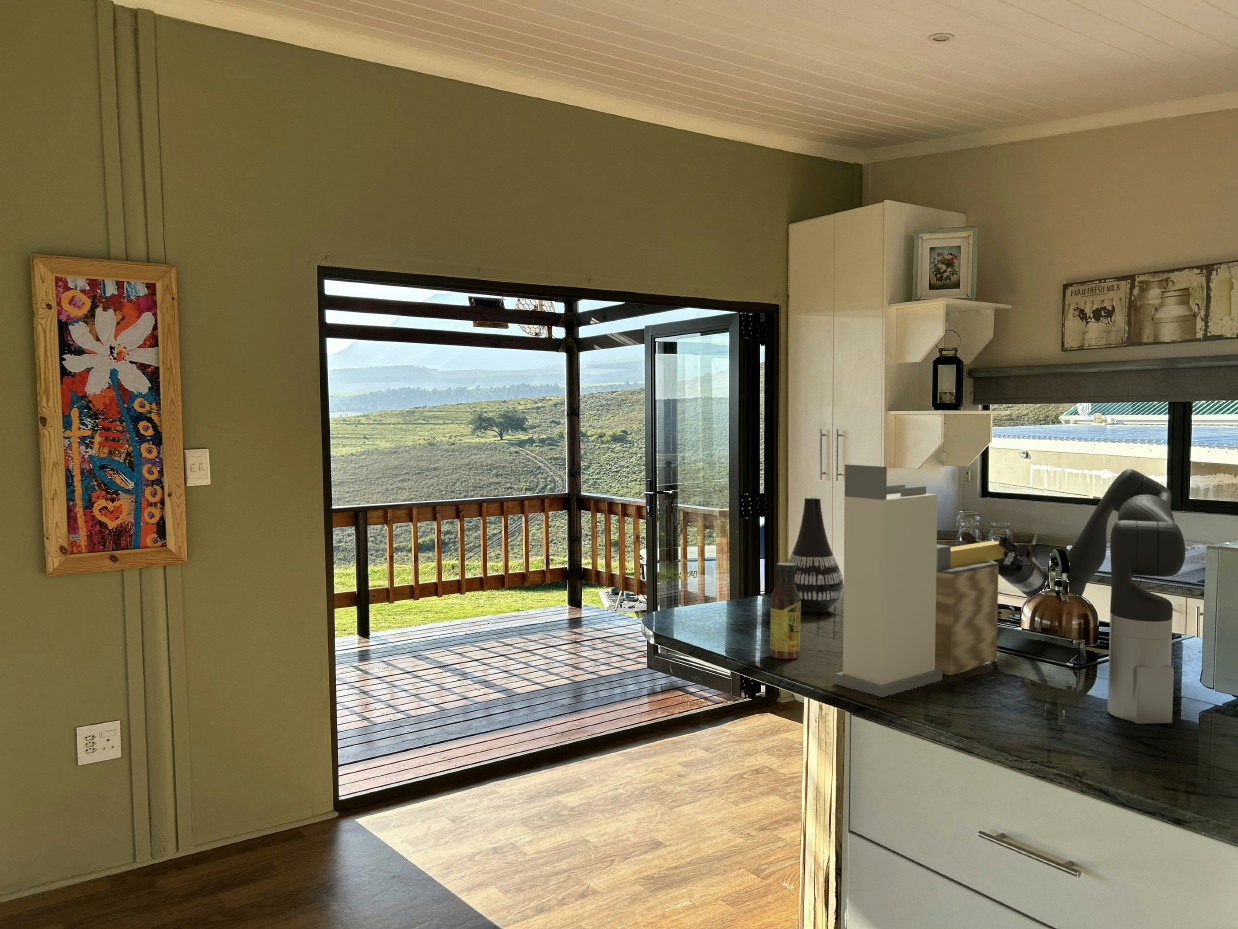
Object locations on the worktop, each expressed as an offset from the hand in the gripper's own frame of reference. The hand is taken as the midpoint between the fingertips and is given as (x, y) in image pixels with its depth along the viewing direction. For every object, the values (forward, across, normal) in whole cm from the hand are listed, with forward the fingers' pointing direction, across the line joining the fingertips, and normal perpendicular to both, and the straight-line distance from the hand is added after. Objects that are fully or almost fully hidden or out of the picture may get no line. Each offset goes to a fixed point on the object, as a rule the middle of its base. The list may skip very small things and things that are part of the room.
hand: (982, 537), depth 193 cm
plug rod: (+3, 0, +7) cm, 8 cm away
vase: (-16, -50, +20) cm, 57 cm away
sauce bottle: (+16, -25, +38) cm, 48 cm away
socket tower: (+14, 0, +37) cm, 39 cm away
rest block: (-4, 0, +26) cm, 27 cm away
